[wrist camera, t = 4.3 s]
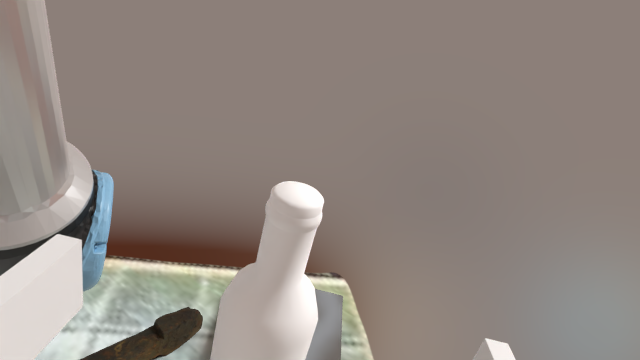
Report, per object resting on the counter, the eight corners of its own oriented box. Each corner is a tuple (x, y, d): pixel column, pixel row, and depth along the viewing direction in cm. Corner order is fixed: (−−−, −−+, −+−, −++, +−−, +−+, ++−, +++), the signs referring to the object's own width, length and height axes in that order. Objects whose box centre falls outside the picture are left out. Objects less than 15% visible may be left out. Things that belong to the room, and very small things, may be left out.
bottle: (266, 410, 42) (335, 171, 30) (280, 492, 36) (375, 228, 23) (191, 420, 39) (232, 161, 27) (190, 511, 33) (245, 222, 21)
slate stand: (225, 371, 45) (230, 346, 43) (251, 297, 57) (256, 274, 55) (330, 397, 46) (340, 372, 44) (335, 317, 57) (342, 295, 56)
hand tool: (28, 438, 35) (24, 406, 33) (18, 403, 37) (13, 372, 35) (211, 344, 48) (215, 318, 47) (195, 323, 51) (199, 297, 49)
